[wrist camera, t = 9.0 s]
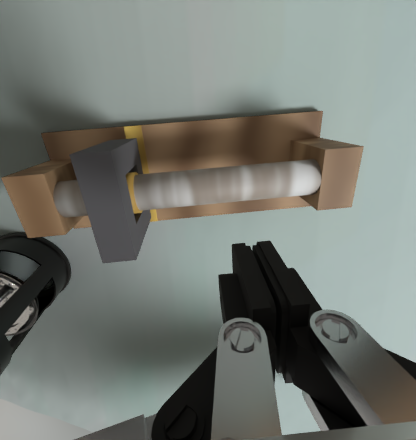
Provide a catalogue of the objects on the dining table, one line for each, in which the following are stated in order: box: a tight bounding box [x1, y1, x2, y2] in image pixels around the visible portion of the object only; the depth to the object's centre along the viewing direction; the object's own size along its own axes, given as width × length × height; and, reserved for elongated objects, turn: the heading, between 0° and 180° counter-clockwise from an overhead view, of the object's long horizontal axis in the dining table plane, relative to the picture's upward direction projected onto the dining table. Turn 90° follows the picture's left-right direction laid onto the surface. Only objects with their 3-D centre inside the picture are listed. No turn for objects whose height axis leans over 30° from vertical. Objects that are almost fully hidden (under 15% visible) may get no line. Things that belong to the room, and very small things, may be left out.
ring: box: [69, 138, 151, 263], centre depth 20 cm, size 2×8×8 cm, turn 4°
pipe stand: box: [2, 111, 364, 238], centre depth 22 cm, size 27×10×8 cm, turn 94°
